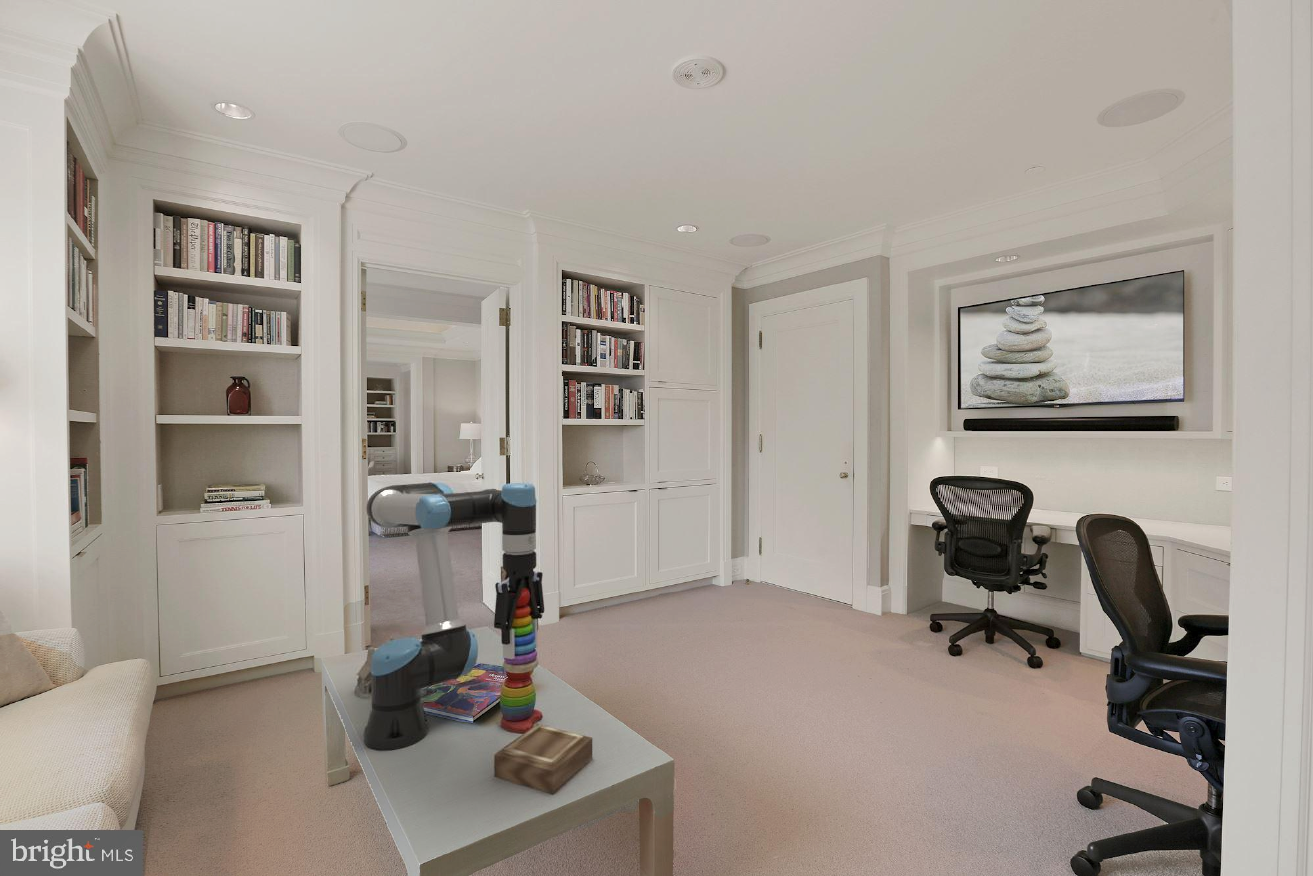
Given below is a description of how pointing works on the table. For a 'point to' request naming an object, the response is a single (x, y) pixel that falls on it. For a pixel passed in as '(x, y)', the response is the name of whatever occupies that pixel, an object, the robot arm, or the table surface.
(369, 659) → the ceramic cottage
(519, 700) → the stacking bear
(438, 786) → the table surface
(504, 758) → the plinth
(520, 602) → the stacking toy
